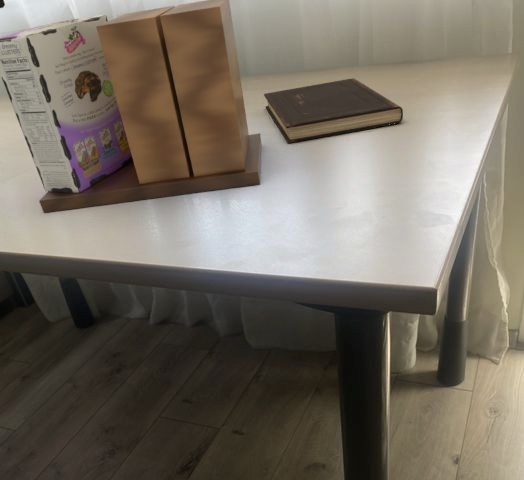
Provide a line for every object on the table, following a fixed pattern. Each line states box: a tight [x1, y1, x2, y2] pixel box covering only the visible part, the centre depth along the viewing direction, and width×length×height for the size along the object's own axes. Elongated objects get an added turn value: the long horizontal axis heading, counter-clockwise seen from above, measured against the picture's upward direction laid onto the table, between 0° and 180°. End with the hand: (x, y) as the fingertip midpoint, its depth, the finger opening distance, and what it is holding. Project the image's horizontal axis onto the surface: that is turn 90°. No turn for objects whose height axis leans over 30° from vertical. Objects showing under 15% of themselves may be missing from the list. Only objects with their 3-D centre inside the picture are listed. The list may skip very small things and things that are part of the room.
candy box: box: [0, 13, 133, 193], centre depth 63 cm, size 14×6×16 cm, turn 156°
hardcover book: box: [263, 77, 404, 144], centre depth 81 cm, size 16×23×2 cm
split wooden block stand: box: [38, 0, 262, 213], centre depth 63 cm, size 26×16×18 cm, turn 89°
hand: (39, 2), depth 57 cm, fingers open, 9 cm apart
